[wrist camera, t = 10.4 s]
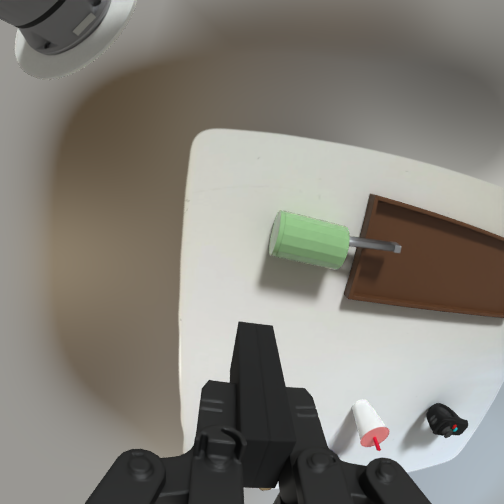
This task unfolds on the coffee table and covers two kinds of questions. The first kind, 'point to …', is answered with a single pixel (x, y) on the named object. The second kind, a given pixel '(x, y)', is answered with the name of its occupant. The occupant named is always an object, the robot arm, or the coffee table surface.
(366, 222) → the tray
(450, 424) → the controller
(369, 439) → the cup
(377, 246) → the bolted metal rod
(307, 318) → the coffee table surface
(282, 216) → the green cup
